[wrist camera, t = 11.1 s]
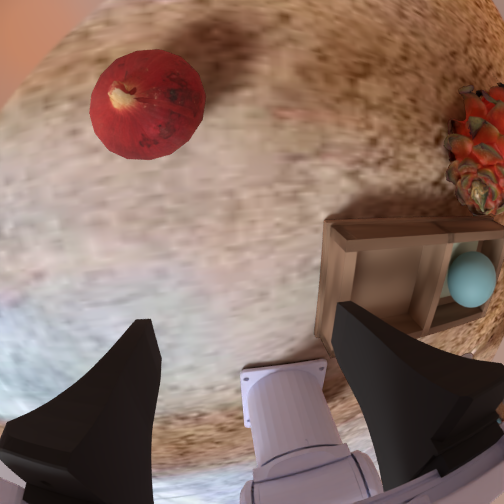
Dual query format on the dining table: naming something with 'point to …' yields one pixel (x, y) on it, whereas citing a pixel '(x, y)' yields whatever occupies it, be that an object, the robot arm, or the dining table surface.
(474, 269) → the ball
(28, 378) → the dining table surface
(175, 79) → the onion
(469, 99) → the dragon fruit
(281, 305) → the dining table surface
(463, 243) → the divided wooden tray
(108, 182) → the dining table surface
